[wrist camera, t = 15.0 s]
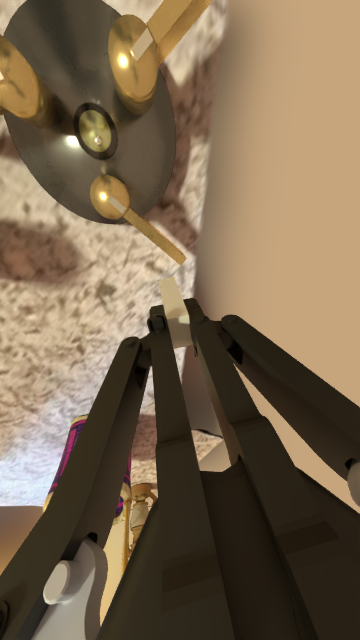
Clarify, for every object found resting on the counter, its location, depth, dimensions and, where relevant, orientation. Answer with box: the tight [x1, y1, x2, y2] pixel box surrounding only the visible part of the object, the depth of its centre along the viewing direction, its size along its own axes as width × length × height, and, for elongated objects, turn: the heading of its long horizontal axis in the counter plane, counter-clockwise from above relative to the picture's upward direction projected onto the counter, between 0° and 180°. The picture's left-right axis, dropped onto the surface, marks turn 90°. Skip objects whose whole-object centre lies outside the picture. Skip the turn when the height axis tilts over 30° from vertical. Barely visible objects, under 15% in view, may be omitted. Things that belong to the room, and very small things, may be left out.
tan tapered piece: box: [128, 483, 157, 558], centre depth 80 cm, size 15×10×30 cm
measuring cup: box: [108, 0, 213, 115], centre depth 16 cm, size 13×4×5 cm, turn 128°
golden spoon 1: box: [90, 175, 187, 265], centre depth 24 cm, size 13×4×5 cm, turn 48°
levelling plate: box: [3, 0, 176, 224], centre depth 21 cm, size 18×18×4 cm
